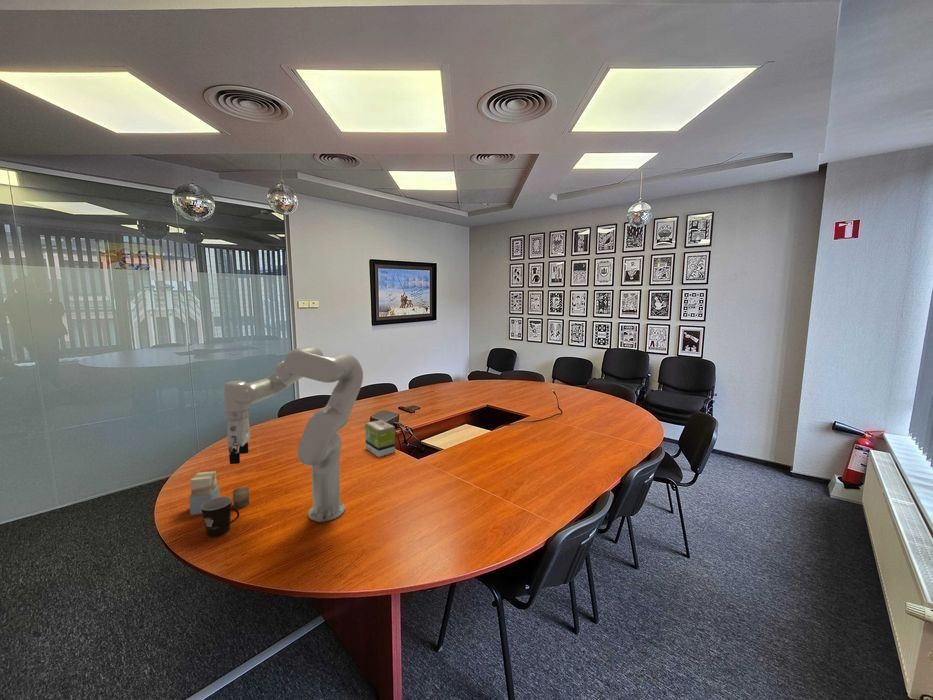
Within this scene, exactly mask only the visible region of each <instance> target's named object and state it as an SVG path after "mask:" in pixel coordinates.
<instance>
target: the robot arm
mask: <svg viewBox="0 0 933 700" xmlns="http://www.w3.org/2000/svg"><path fill="white" fill-rule="evenodd" d="M274 371H275V372H273V373H272V374H270V375H269V376H266V377H265V378H263V379H258V380H255V381H252V382H248V383H247V381H245V380H231V381H228V382H226V383H224V386H223V394H224V395H223V396H224V398H223V399H224V414H225V415H224V416H225V421H227V447H228V457H229V458H228V459H229V465H239V464H240V463H241V456H240V455H241V454H242V455H243V454H248V453H249V452H250V450H249V441H250V439H251V429H250V427H251V426H250V420H249V418H250V410H249V409H250V406H249V405H252V404H256V403H259V402H261V401H265V400H266V399H270V398H272V397H274V396H276V395H277V394H279V393H281V392H282V391H285V390H286V389H287V388H289V387H290V386H292V384H294V383H295V382H297V381H299V380H300V379H302V378H305V379H310V380H314V381H317V382H320V383H321V382H322V383H325V384H326V383H328V384H330V383H335V382H337V383H336V385H335V387H334V388H333V390H332V393H331V394H330V398H329V399H328V401H327V404H326V405H325V406H324V407H323V408H321V409H319V410H317V411H316V412H314V413H313V414H312V415H311V416H310V418H309V419H308V421H307V423H306V425H305V428H304V430H303V433H302V436H301V438H300V440H299V443H298V445H297V446H298V447H297V451H296V454H297V458H298V460H299V462H300V463H301V464H302V465H304V466H307V467H311V488H312V489H311V490H312V493H311V494H312V495H311V496H312V507H310V509H309V510H308V513H307V515H308V518H309V519H310V520H311V521H314V522H318V523H321V522H322V523H323V522H329V521H333V520H336V519H337V518H339V517H340V516H342V515H343V514H344V512H345V507H346V506H345V504H344V503H343V502H341V487H340V486H341V484H340V483H341V481H340V480H341V479H340V476H341V475H340V473H341V471H340V469H341V467H340V458H341V456H340V455H341V449H342V438H341V435H340V433H339V431H340V430H342V429H343V428H344V427H345V426H346V425H347V423H348V421H349V418H350V416H351V413H352V410H353V408H354V405H355V403H356V400H357V397H358V396H359V393H360V391H361V387H362V384H363V380H364V371H363V368H362V365H361V363H360V362H359V360H358V359H357V358H356V357H354V356H353V355H351V354H349V353H340V354H335V355H331V356H328V357H326V356H324V354H323V352H322V351H321V350H320V348H318V347H315V346H305V347H301V348H295V349H292V350H291V351H290V352H288V353H287V355H286V356H285V359H284V360H283V361H281V362H278V363H277V364H276V365H275V369H274Z"/></svg>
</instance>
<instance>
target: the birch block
mask: <svg viewBox="0 0 933 700" xmlns="http://www.w3.org/2000/svg"><path fill="white" fill-rule="evenodd" d="M217 486H218V482H217V471H215V470H214V471H204V472H197V473H196V474H195V475H194V476H193V477H192V478H191V479H190V490H191V491H190V492H191V493H190V495H192V496H195V495H205V494H211V493H212V492H213V490H214V489H215V488H216V487H217Z"/></svg>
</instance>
